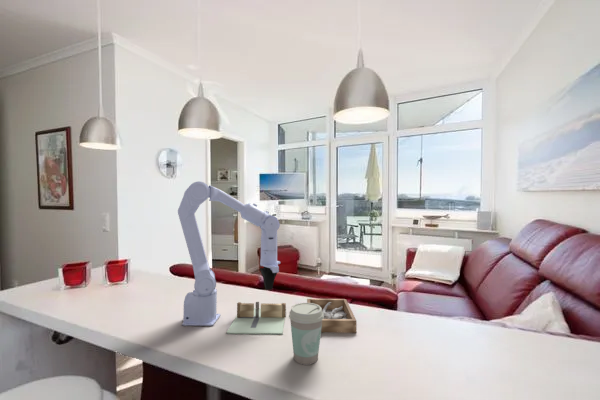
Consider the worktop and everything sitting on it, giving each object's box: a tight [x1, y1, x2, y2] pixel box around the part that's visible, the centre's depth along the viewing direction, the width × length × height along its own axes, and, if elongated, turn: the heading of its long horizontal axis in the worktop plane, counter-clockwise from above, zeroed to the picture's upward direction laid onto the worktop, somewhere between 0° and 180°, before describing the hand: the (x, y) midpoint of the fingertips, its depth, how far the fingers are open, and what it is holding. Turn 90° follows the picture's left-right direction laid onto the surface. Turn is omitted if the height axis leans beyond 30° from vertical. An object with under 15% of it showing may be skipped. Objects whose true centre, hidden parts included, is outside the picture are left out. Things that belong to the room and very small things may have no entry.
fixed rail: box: [236, 301, 260, 318], centre depth 87 cm, size 7×1×5 cm, turn 90°
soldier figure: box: [322, 302, 347, 319], centre depth 85 cm, size 8×5×12 cm
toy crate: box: [306, 298, 357, 334], centre depth 87 cm, size 14×18×4 cm
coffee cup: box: [288, 302, 324, 366], centre depth 65 cm, size 8×8×12 cm
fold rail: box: [260, 302, 287, 318], centre depth 87 cm, size 8×1×4 cm, turn 90°
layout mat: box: [226, 307, 286, 335], centre depth 86 cm, size 16×18×1 cm
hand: (268, 289), depth 92 cm, fingers closed
